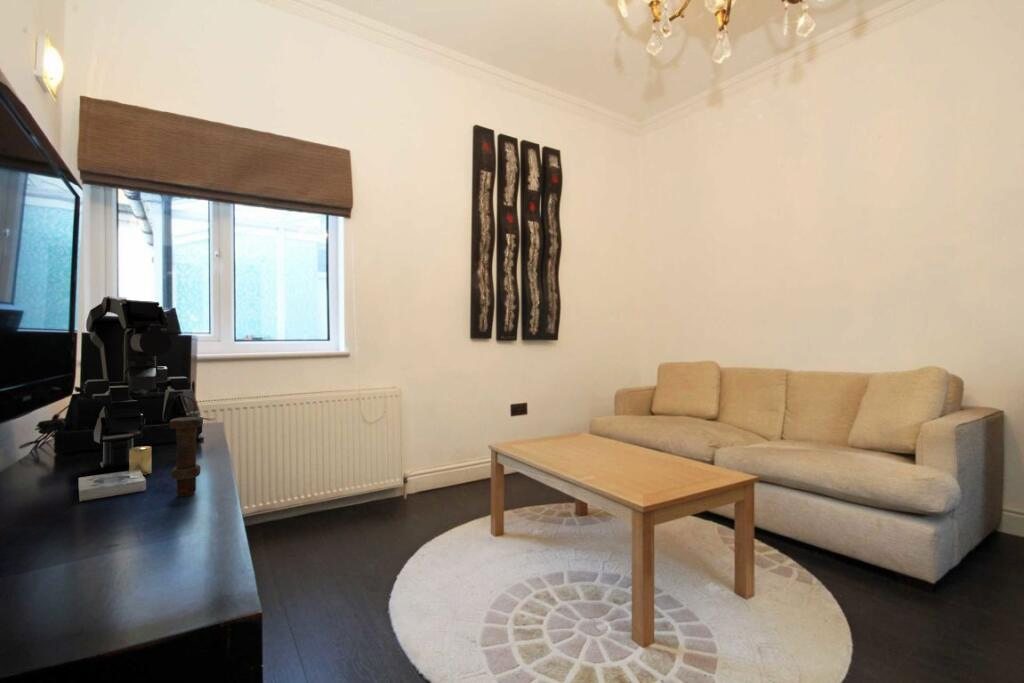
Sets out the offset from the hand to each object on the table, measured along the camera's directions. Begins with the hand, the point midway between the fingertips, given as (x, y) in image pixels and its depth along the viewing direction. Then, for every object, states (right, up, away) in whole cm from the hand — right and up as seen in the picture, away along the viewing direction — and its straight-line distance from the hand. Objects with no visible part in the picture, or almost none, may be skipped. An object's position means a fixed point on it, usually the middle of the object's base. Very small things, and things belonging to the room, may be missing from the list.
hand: (139, 423), depth 108 cm
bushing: (0, -12, 0) cm, 12 cm away
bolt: (+21, -12, -14) cm, 28 cm away
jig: (+3, -12, -11) cm, 16 cm away
